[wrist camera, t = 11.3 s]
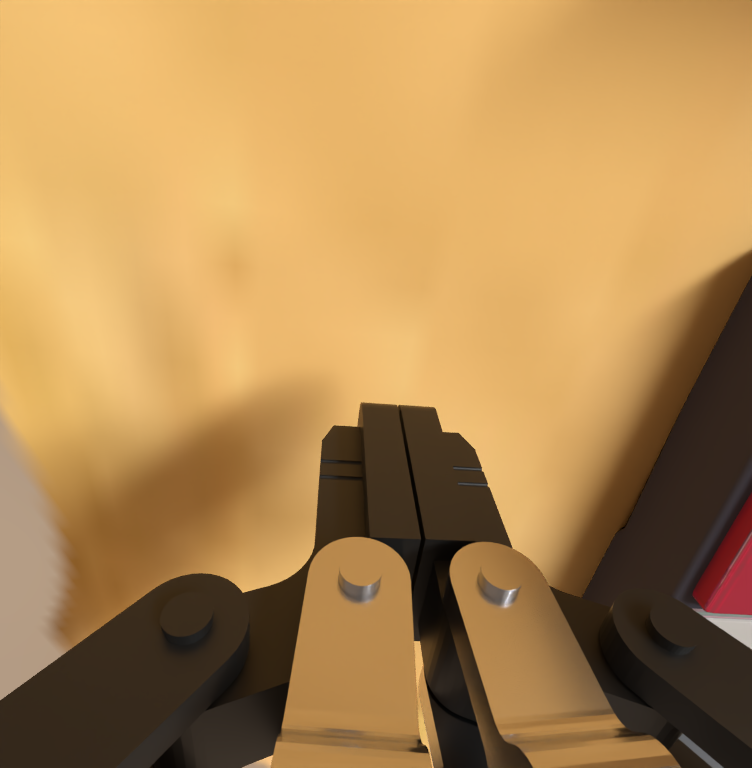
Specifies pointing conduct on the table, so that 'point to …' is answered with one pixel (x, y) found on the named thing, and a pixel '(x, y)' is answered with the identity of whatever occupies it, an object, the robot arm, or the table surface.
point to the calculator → (698, 498)
